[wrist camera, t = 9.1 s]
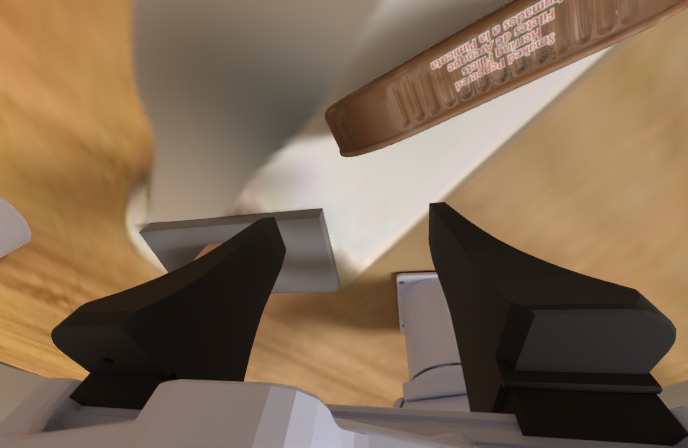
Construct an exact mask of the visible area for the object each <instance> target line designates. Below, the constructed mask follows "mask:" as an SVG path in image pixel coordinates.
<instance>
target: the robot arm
mask: <svg viewBox="0 0 688 448" xmlns="http://www.w3.org/2000/svg"><path fill="white" fill-rule="evenodd" d="M429 246H430V251H431V256H432V260H433V264H434V267H435V269H436V272H424V273H400V274H398V275H397V276H396V280H397V295H398V310H399V324H400V332H401V333H405V339H406V349H407V360H408V370H409V380H410V381H409V382H405V383H403V396H404V398H399V399H397V400H396V401H395V403H394V405H393V408H390V407H371V406H353V405H335V404H324V403H323V402H322V401H321V400H320V399H319V397H318V396H317V395H315V394H312V393H310V392H308V391H305V390H303V389H301V388H299V387H295V386H289V385H283V384H277V383H261V382H244V378H245V373H246V369H247V365H248V361H249V357H250V353H251V349H252V346H253V342H254V338H255V335H256V331H257V328H258V325H259V322H260V319H261V315H262V313H263V310H264V307H265V305H266V303H267V300H268V298H269V296H270V294H271V291H272V289H273V287H274V285H275V282H276V280H277V278H278V275H279V273H280V270H281V268H282V265H283V261H284V258H285V253H286V247H285V245H284V242H283V239H282V236H281V233H280V231H279V228H278V225H277V222H276V220H275V217H265V218H261V219H259V220H257V221H256V222H254V223H253V224H251V225H250V226H248V227H246V228H245V229H244V230H242V231H241V232H239V233H238V234H236V235H235V236H233V237H232V238H230V239H229V240H227V241H226V242H224V243H223V244H221V245H219V246H218V247H216V248H215V249H213V250H211V251H210V252H208V253H207V254H205V255H203V256H201V257H200V258H198V259H196V260H194V261H192V262H190V263H188V264H186V265H185V266H183V267H180V268H178V269H176V270H174V271H172V272H170V273H167V274H165V275H163V276H161V277H159V278H156V279H154V280H151V281H149V282H146V283H144V284H141V285H139V286H136V287H133V288H131V289H128V290H125V291H122V292H119V293H116V294H113V295H110V296H107V297H104V298H101V299H97V300H94V301H91V302H88V303H85V304H84V305H82V306H80V307H79V308H78V309H77V310H75V311H74V312H73V313H72V314H71V315H69V316H68V317H67V318H66V319H65V320H64V321H62V322H61V323H60V324H59V325H58V326H56V327H55V328H54V329H53V331H52V333H51V337H52V340H53V343H54V344H55V345H56V346H57V348H59V349H60V350H61V351H62V352H63V353H64V354H66V355H67V356H68V357H70V358H71V359H72V360H74V361H75V362H76V363H78V364H79V365H81V366H82V367H83V368H85V369H86V370H87V371H89V372H91V373H90V374H89V375H88V376H87V377H86V378H85V380H84V381H83V382H82V381H79V380H76V379H70V378H46V379H45V380H44V381H42V382H41V383H40V384H39V385H38V386H37V387H36V388H35V389H34V390H33V391H32V392H31V393H30V394H29V395H28V396H27V397H26V398H25V399H24V400H23V401H22V402H21V403H20V404H19V405H18V406H17V407H16V408H15V409H14V410H13V411H12V412H11V413H10V414H9V415H8V416H7V417H6V418H5V419H4V420H3V421H1V422H0V448H688V406H682V407H677V408H673V409H671V410H669V409H668V408H667V407H666V405H665V404H664V403H663V402H662V401H661V399H660V398H659V397H658V396H657V394H660V393H661V392H662V388H661V386H660V385H659V383H658V382H657V381H656V380H655V379H654V378H653V376H652V375H651V374H650V373H649V372H650V371H651V370H652V369H653V368H654V366H655V365H656V364H657V363H658V362H659V361H660V360H661V359H662V358H663V357H664V356H665V355H666V353H667V352H668V351H669V350H670V348H671V347H672V345H673V344H674V342H675V339H676V328H675V327H674V325H673V324H672V322H671V321H670V320H669V319H668V318H667V317H666V316H665V315H664V314H663V313H661V312H660V311H659V310H658V309H657V308H656V307H655V306H654V305H653V304H652V303H650V302H649V301H648V300H647V299H646V298H645V297H644V296H643V295H642V294H640V293H639V292H638V291H637V290H636V289H632V288H628V287H625V286H621V285H618V284H614V283H610V282H607V281H603V280H600V279H596V278H592V277H589V276H586V275H583V274H580V273H577V272H574V271H571V270H568V269H565V268H562V267H559V266H556V265H554V264H551V263H548V262H546V261H543V260H541V259H538V258H536V257H534V256H531V255H529V254H526V253H524V252H522V251H520V250H518V249H516V248H514V247H512V246H510V245H508V244H506V243H504V242H502V241H500V240H498V239H496V238H495V237H493V236H491V235H490V234H488V233H487V232H485V231H483V230H482V229H480V228H479V227H477V226H476V225H474V224H473V223H471V222H470V221H469V220H467V219H466V218H464V217H463V216H462V215H460V214H459V213H458V212H457V211H455V210H454V209H453V208H451V207H450V206H449V205H448V204H446V203H445V202H440V203H429ZM400 281H403V282H400Z"/></svg>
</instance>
